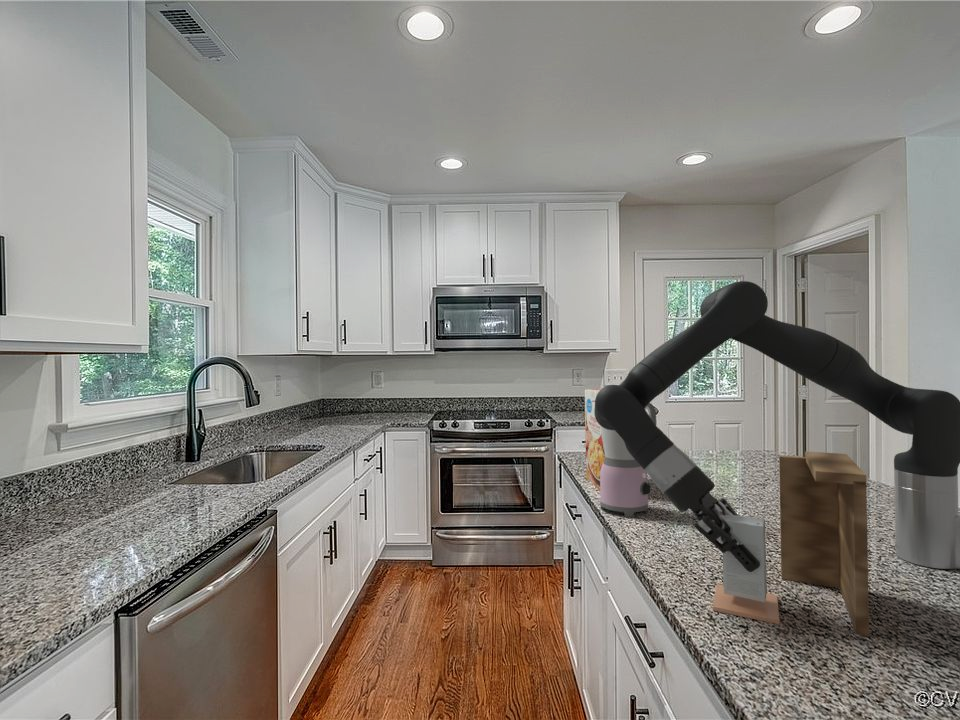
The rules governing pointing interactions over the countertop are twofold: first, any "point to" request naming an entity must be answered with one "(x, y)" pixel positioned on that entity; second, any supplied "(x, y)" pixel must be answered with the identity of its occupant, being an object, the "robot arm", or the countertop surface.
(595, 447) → the pasta box
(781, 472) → the walnut cubby
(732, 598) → the terracotta tile
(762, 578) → the skincare box
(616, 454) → the blender
